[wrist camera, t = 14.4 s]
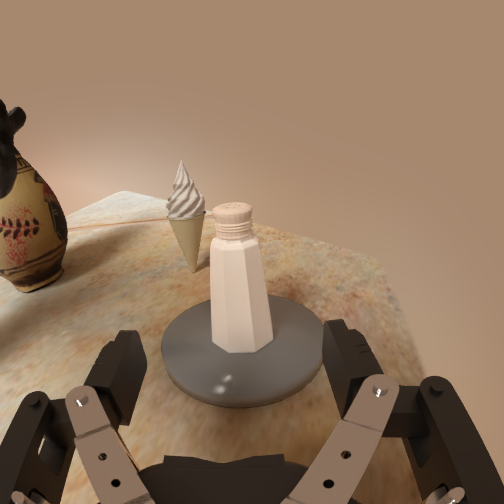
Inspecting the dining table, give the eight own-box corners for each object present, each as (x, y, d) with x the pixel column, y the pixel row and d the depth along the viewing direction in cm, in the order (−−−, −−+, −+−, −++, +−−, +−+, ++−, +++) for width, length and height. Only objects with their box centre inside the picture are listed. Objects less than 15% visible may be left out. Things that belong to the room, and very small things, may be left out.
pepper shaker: (204, 326, 27) (186, 204, 23) (259, 311, 29) (252, 194, 25) (222, 362, 22) (203, 221, 18) (286, 343, 24) (284, 208, 20)
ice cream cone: (189, 284, 38) (173, 162, 33) (168, 273, 41) (153, 163, 36) (219, 270, 41) (209, 157, 36) (197, 261, 45) (186, 157, 39)
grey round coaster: (140, 341, 27) (137, 329, 27) (252, 292, 35) (252, 280, 35) (227, 439, 17) (224, 427, 16) (355, 344, 25) (358, 331, 25)
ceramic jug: (18, 268, 46) (-8, 114, 35) (85, 256, 50) (63, 90, 39) (-20, 312, 31) (-61, 111, 20) (60, 302, 34) (22, 72, 23)
